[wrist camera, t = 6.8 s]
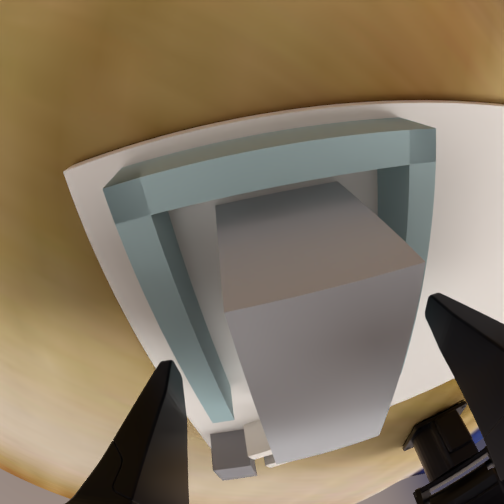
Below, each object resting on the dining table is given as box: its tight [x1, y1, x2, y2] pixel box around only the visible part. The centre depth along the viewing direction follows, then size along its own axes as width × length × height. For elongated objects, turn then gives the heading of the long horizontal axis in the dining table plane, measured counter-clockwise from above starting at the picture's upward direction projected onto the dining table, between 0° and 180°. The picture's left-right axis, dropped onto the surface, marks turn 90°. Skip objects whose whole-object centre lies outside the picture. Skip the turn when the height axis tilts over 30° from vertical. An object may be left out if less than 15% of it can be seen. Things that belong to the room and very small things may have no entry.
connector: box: [215, 181, 425, 464], centre depth 10 cm, size 4×11×5 cm, turn 10°
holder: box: [103, 117, 436, 423], centre depth 11 cm, size 9×11×2 cm
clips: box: [243, 420, 291, 468], centre depth 16 cm, size 5×5×2 cm
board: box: [63, 100, 504, 448], centre depth 14 cm, size 19×24×1 cm
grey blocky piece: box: [210, 429, 257, 480], centre depth 16 cm, size 5×6×3 cm
